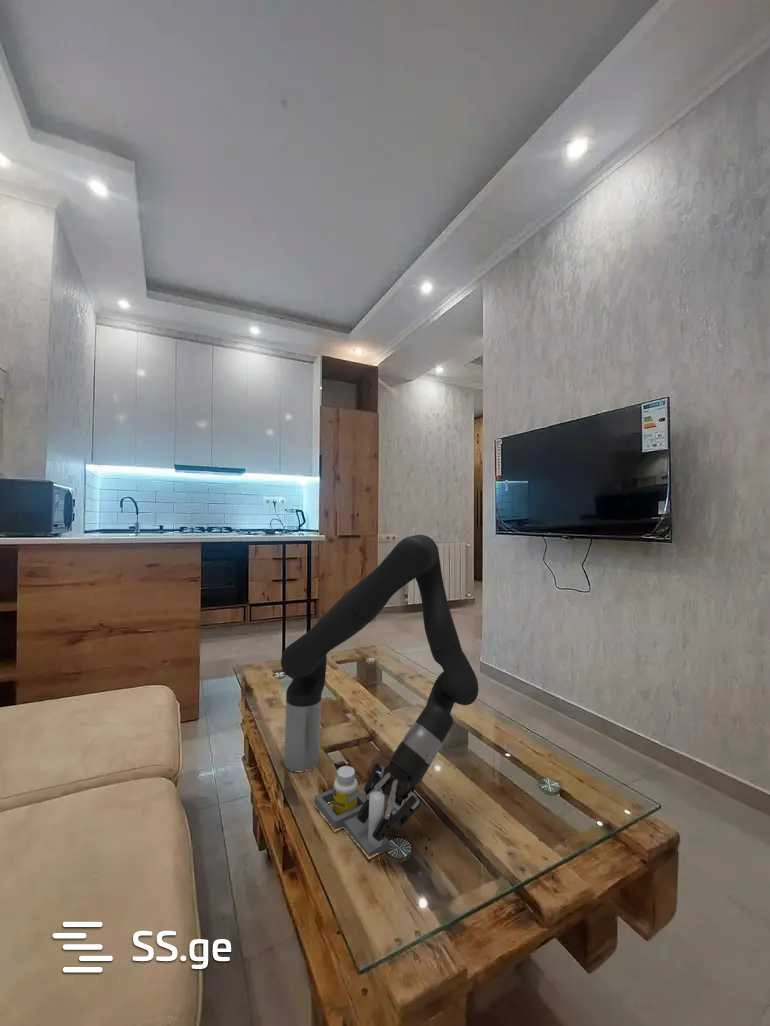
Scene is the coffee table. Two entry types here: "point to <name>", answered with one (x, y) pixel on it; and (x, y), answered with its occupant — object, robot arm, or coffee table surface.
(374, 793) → the grey square holder tray
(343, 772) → the supplement bottle
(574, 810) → the coffee table surface
